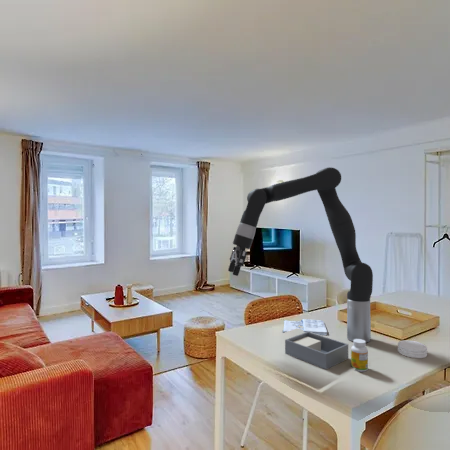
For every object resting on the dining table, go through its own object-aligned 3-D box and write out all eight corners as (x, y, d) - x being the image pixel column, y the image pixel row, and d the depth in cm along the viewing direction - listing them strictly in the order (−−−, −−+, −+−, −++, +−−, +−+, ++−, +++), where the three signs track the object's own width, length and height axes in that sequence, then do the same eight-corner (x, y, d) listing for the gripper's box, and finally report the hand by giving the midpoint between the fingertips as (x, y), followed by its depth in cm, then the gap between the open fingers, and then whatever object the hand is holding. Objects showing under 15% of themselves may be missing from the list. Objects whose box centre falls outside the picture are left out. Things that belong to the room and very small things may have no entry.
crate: (308, 346, 139) (307, 331, 139) (348, 360, 126) (348, 344, 125) (285, 355, 131) (285, 339, 130) (325, 371, 117) (325, 354, 117)
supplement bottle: (348, 365, 121) (348, 338, 121) (363, 364, 122) (363, 337, 122) (355, 372, 116) (355, 344, 116) (370, 371, 117) (370, 343, 116)
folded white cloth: (327, 336, 152) (327, 331, 152) (281, 334, 156) (281, 329, 156) (324, 323, 171) (324, 319, 171) (283, 321, 175) (283, 317, 175)
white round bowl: (432, 355, 130) (432, 345, 130) (418, 361, 125) (418, 351, 125) (406, 346, 139) (406, 338, 139) (392, 352, 134) (392, 343, 134)
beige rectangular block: (306, 346, 137) (306, 336, 137) (320, 351, 132) (320, 341, 132) (290, 352, 131) (290, 342, 131) (304, 358, 126) (304, 347, 126)
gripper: (258, 239, 135) (245, 279, 134) (248, 237, 149) (236, 272, 148) (240, 234, 133) (227, 274, 133) (232, 231, 147) (220, 268, 147)
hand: (232, 273), depth 141 cm, fingers open, 8 cm apart
